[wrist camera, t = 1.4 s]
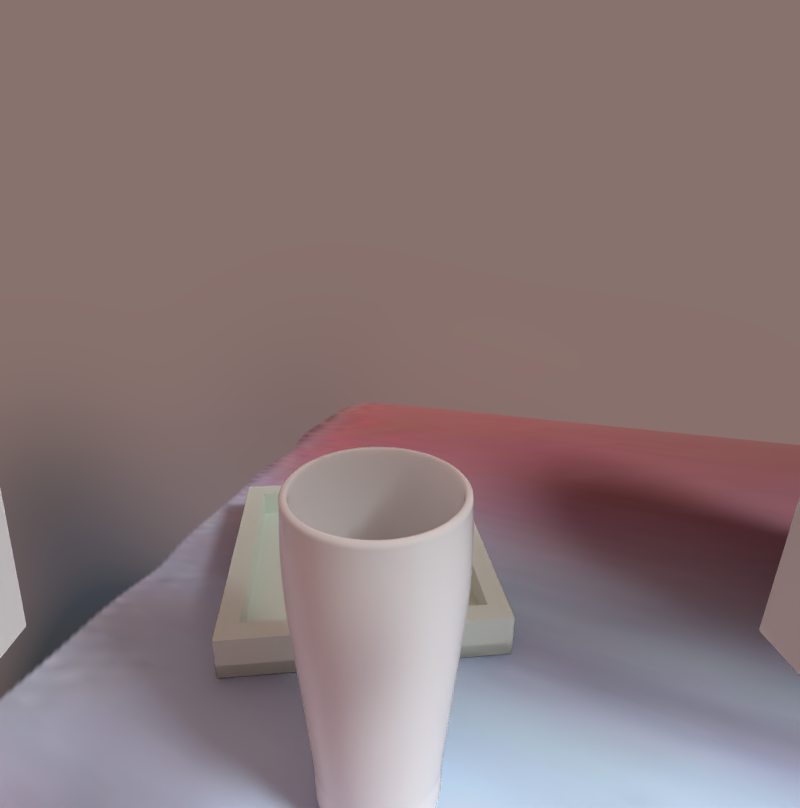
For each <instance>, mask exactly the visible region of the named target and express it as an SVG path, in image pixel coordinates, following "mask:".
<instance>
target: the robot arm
mask: <svg viewBox="0 0 800 808" xmlns="http://www.w3.org/2000/svg"><path fill="white" fill-rule="evenodd" d="M25 627H26V621H25V616H24V610H23V605H22V600H21V595H20V589H19V584H18V579H17V573H16V568H15V563H14V558H13V553H12V547H11V542H10V536H9V532H8V526H7V521H6V515H5V510H4V505H3V500H2V494H1V489H0V658H1V657H2V656H3V654H4V653H5V652H6V651H7V649H8V648H9V647H10V646H11V644H12V643H13V642H14V641H15V639H16V638H17V637H18V636H19V634H20V633H21V632H22V631H23V629H24V628H25ZM759 631H760V632H761V633H762V634H763V635H764V637H765V638H766V639H767V640H768V641H769V642H770V643H771V644H772V645H773V646H774V648H775V649H776V650H777V651H778V652H779V653H780V654H781V655H782V656H783V657H784V658H785V660H786V661H787V662H788V663H789V664H790V665H791V666H792V667H793V668H794V669H795V671H796V672H797V673H798V674H799V675H800V498H799V501H798V504H797V507H796V511H795V514H794V517H793V520H792V524H791V527H790V530H789V534H788V537H787V540H786V543H785V547H784V550H783V553H782V556H781V560H780V563H779V566H778V569H777V573H776V576H775V579H774V583H773V586H772V589H771V592H770V596H769V599H768V602H767V605H766V609H765V612H764V615H763V618H762V622H761V625H760V628H759Z"/></svg>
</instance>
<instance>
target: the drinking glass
mask: <svg viewBox="0 0 800 808" xmlns="http://www.w3.org/2000/svg"><path fill="white" fill-rule="evenodd" d="M278 525H279V554H280V569H281V579H282V589H283V597H284V605H285V611H286V618H287V623H288V629H289V635H290V640H291V645H292V650H293V656H294V661H295V666H296V671H297V676H298V681H299V687H300V692H301V697H302V703H303V708H304V713H305V719H306V724H307V730H308V735H309V741H310V746H311V752H312V758H313V764H314V772H315V787H316V796H317V801H318V805H319V808H436V807H437V804H438V801H439V796H440V791H441V778H442V762H443V755H444V749H445V743H446V736H447V730H448V724H449V718H450V712H451V706H452V700H453V694H454V688H455V682H456V677H457V671H458V665H459V659H460V654H461V648H462V642H463V636H464V630H465V624H466V618H467V612H468V605H469V597H470V588H471V577H472V562H473V535H474V494H473V490H472V487H471V485H470V483H469V481H468V480H467V478H466V477H465V476H464V475H463V474H462V473H461V472H460V471H459V470H458V469H457V468H455V467H454V466H452V465H451V464H449V463H447V462H446V461H444V460H442V459H439V458H437V457H434V456H432V455H429V454H426V453H422V452H418V451H414V450H408V449H402V448H392V447H364V448H354V449H348V450H342V451H338V452H334V453H330V454H327V455H324V456H321V457H318V458H316V459H314V460H311V461H309V462H307V463H305V464H304V465H302V466H301V467H299V468H298V469H296V470H295V471H294V472H293V473H292V474H290V475H289V477H288V478H287V479H286V480H285V481H284V483H283V485H282V487H281V489H280V491H279V495H278Z"/></svg>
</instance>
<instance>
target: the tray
mask: <svg viewBox="0 0 800 808" xmlns="http://www.w3.org/2000/svg"><path fill="white" fill-rule="evenodd" d="M281 487H282V485H277V486H257V487H249V491H248V495H247V499H246V503H245V507H244V511H243V515H242V519H241V523H240V528H239V532H238V536H237V540H236V544H235V548H234V552H233V556H232V560H231V564H230V568H229V573H228V577H227V581H226V585H225V589H224V593H223V597H222V601H221V605H220V609H219V613H218V617H217V622H216V626H215V630H214V634H213V638H212V648H213V655H214V662H215V669H216V676H217V678H227V677H239V676H251V675H263V674H275V673H287V672H297V671H296V666H295V661H294V656H293V650H292V645H291V640H290V635H289V629H288V623H287V618H286V611H285V605H284V597H283V589H282V579H281V569H280V554H279V525H278V495H279V491H280V489H281ZM514 621H515V617H514V615H513V613H512V610H511V608H510V605H509V603H508V601H507V598H506V596H505V594H504V591H503V589H502V586H501V584H500V582H499V579H498V577H497V575H496V572H495V570H494V568H493V565H492V563H491V560H490V558H489V556H488V553H487V551H486V549H485V546H484V544H483V542H482V539H481V537H480V534H479V532H478V530H477V527H476V525H475V523H474V535H473V562H472V577H471V588H470V597H469V605H468V612H467V618H466V624H465V630H464V636H463V642H462V648H461V654H460V658H465V657H477V656H488V655H500V654H511V651H512V641H513V631H514Z"/></svg>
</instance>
